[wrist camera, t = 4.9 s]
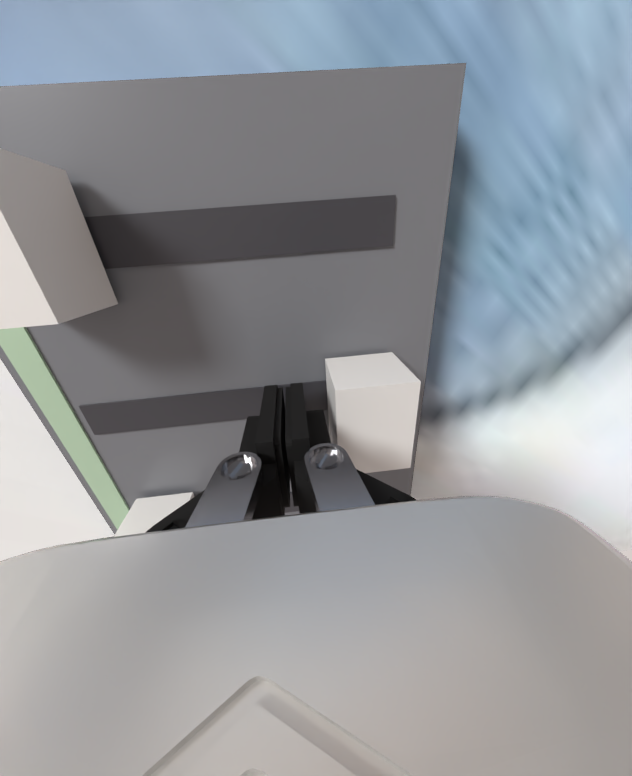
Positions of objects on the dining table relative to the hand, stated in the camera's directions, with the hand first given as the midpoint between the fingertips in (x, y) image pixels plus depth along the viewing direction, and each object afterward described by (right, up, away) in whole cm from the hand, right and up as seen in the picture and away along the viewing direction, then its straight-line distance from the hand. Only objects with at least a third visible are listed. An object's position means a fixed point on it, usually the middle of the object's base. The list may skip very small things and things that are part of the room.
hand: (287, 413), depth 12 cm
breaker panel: (-3, +1, +3) cm, 4 cm away
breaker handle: (+3, +1, +1) cm, 4 cm away
